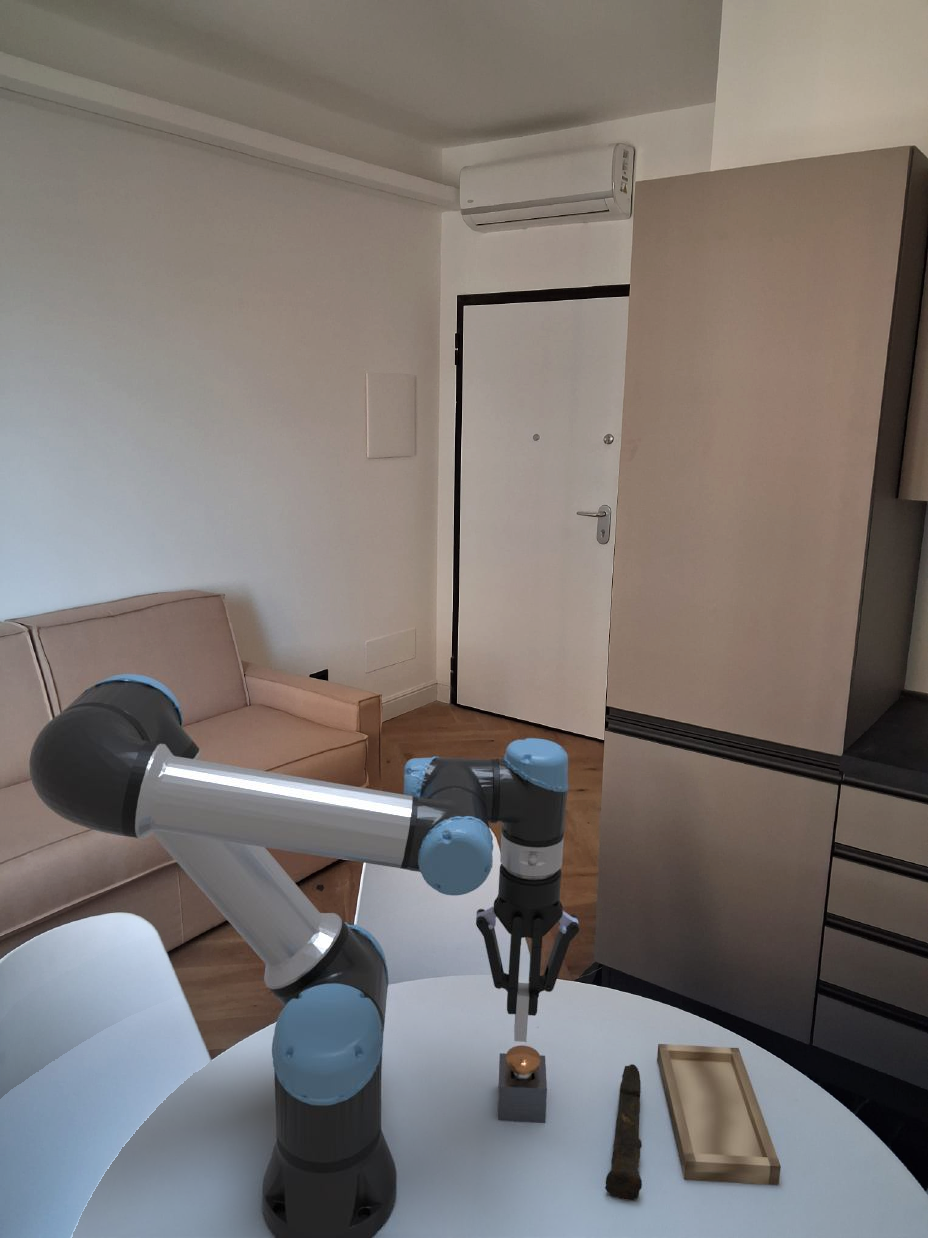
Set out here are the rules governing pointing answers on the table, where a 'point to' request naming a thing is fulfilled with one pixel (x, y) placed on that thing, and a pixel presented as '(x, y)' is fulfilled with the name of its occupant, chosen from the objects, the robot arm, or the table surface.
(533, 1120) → the socket block
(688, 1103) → the tray
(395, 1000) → the table surface
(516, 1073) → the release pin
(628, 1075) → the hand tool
